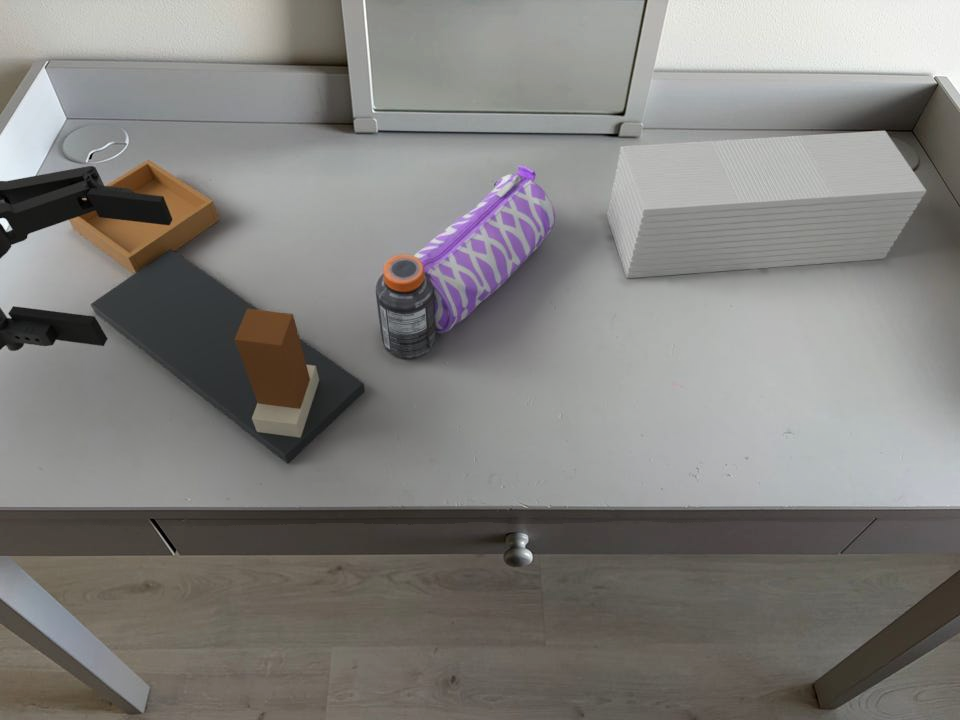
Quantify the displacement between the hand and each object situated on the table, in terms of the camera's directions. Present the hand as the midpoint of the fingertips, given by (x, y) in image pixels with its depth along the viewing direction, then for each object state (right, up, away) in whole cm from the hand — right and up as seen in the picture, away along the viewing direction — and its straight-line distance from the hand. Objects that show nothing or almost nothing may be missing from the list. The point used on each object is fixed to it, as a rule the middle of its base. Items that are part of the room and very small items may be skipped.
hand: (135, 267), depth 64 cm
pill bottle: (+20, -5, +22) cm, 30 cm away
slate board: (+1, -7, +20) cm, 21 cm away
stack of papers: (+61, +7, +32) cm, 69 cm away
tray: (-12, +9, +31) cm, 35 cm away
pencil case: (+28, +2, +27) cm, 39 cm away
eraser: (+9, -12, +14) cm, 21 cm away
